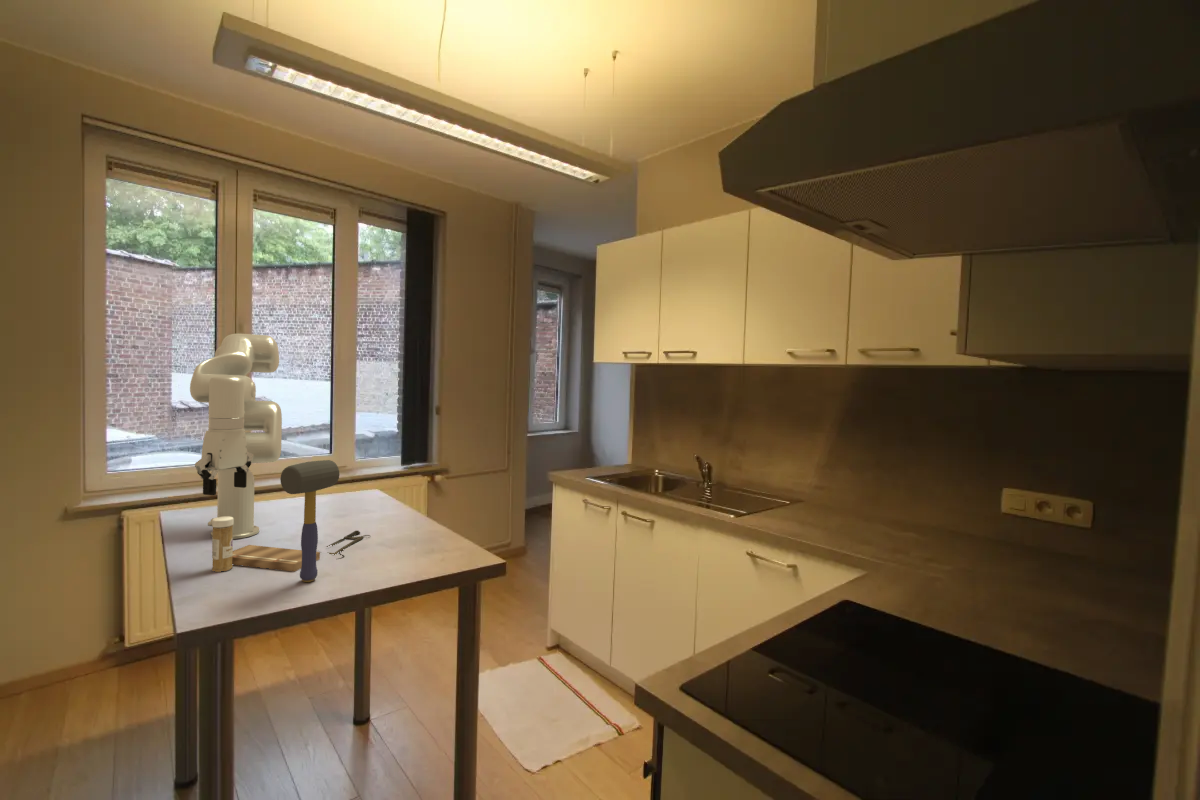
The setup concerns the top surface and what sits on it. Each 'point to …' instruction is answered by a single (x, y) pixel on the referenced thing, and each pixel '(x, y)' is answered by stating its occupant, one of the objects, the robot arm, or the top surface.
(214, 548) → the sprinkles bottle
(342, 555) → the hacksaw
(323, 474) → the rubber mallet
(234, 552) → the board
